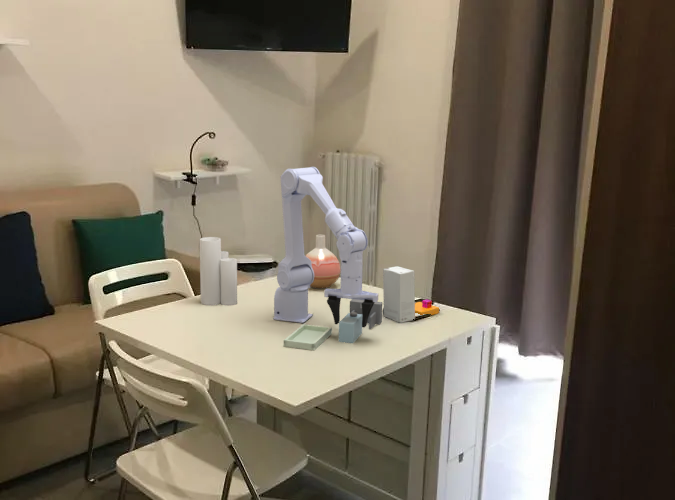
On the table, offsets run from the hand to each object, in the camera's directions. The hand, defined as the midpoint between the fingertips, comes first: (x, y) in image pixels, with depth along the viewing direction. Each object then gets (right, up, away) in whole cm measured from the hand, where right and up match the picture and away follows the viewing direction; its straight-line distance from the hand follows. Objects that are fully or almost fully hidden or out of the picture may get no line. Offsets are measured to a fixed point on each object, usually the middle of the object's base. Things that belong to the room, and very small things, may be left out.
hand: (350, 324), depth 205 cm
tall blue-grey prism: (0, -4, +1) cm, 4 cm away
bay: (+4, -1, +13) cm, 13 cm away
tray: (-11, -4, -1) cm, 12 cm away
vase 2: (-9, +8, +52) cm, 53 cm away
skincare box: (+14, 0, +19) cm, 24 cm away
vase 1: (-40, +4, +32) cm, 51 cm away
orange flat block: (+22, +1, +25) cm, 33 cm away
